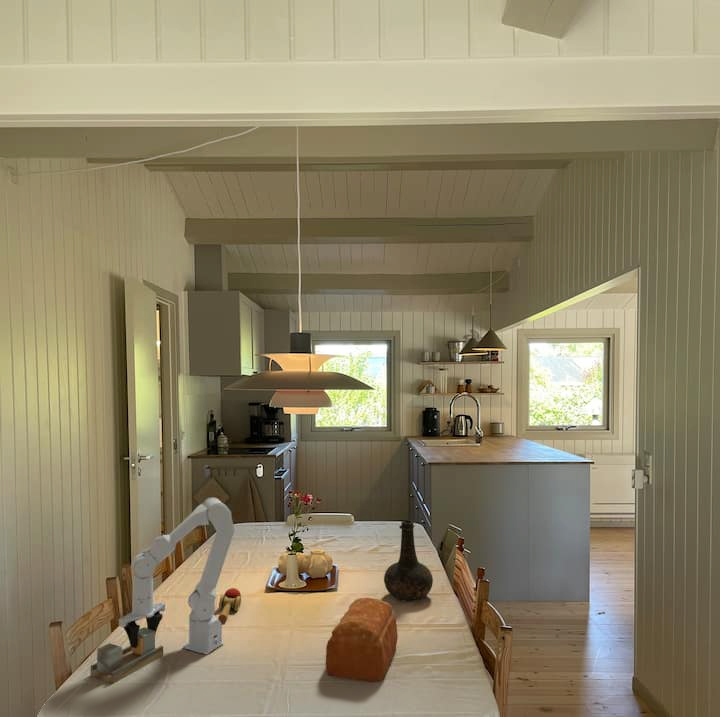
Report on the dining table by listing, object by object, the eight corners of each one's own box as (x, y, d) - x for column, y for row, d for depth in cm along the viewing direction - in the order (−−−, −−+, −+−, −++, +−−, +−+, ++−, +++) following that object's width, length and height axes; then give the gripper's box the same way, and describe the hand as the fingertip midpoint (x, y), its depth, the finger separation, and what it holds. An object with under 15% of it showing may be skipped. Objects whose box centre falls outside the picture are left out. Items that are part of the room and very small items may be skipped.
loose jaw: (154, 651, 181) (155, 631, 181) (141, 657, 177) (142, 636, 177) (144, 647, 184) (144, 627, 184) (130, 653, 180) (131, 632, 180)
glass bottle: (436, 591, 234) (436, 517, 234) (427, 609, 217) (427, 529, 217) (391, 586, 239) (391, 513, 240) (378, 603, 222) (378, 525, 223)
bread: (322, 677, 170) (322, 622, 170) (345, 638, 194) (345, 591, 194) (383, 685, 166) (383, 629, 166) (399, 645, 190) (399, 596, 190)
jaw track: (163, 655, 182) (163, 629, 182) (113, 683, 166) (113, 655, 166) (141, 648, 186) (141, 623, 186) (90, 675, 170) (90, 648, 170)
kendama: (236, 626, 206) (246, 598, 223) (232, 609, 205) (243, 582, 223) (213, 630, 206) (225, 602, 224) (209, 612, 205) (222, 585, 223)
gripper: (129, 607, 173) (129, 656, 173) (171, 591, 185) (171, 637, 185) (114, 601, 177) (114, 649, 176) (156, 586, 189) (156, 631, 189)
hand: (142, 643), depth 181 cm, fingers open, 5 cm apart
